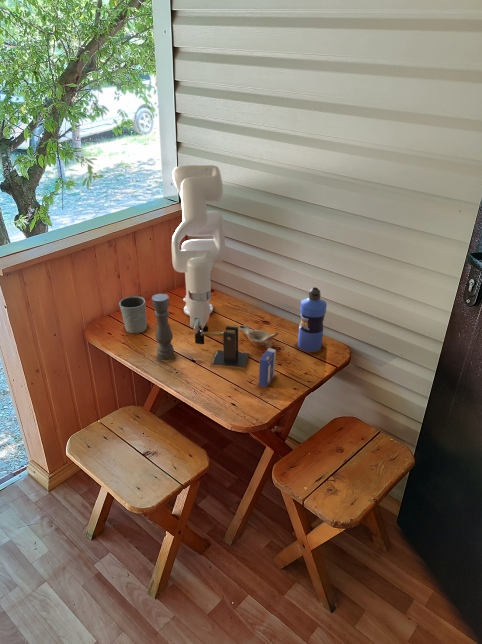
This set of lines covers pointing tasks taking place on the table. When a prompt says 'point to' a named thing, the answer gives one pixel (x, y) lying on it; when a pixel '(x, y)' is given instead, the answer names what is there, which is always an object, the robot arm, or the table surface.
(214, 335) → the switch lever
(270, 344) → the oil lamp
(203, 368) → the table surface
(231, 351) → the switch base
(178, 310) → the table surface
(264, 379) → the walkman
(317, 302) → the water bottle
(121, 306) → the grey green planter pot
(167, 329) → the candle holder
